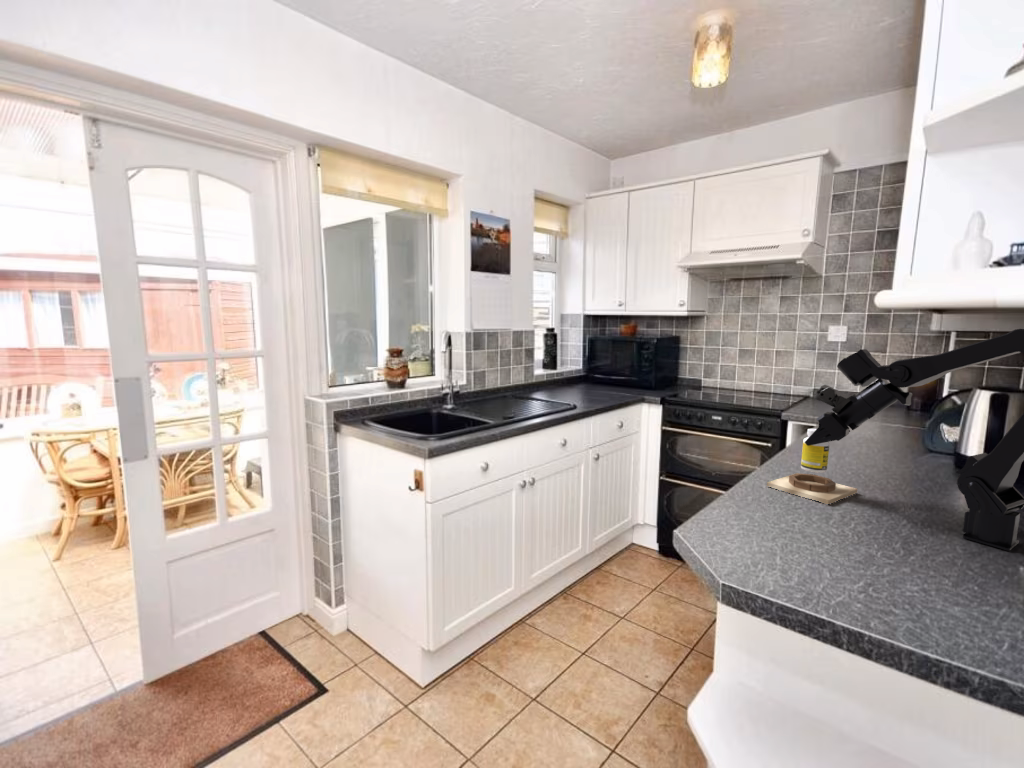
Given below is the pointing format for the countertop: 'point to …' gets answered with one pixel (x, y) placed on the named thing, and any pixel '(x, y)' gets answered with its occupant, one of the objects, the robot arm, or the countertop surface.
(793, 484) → the socket board
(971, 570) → the countertop surface
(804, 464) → the supplement bottle
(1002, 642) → the countertop surface
